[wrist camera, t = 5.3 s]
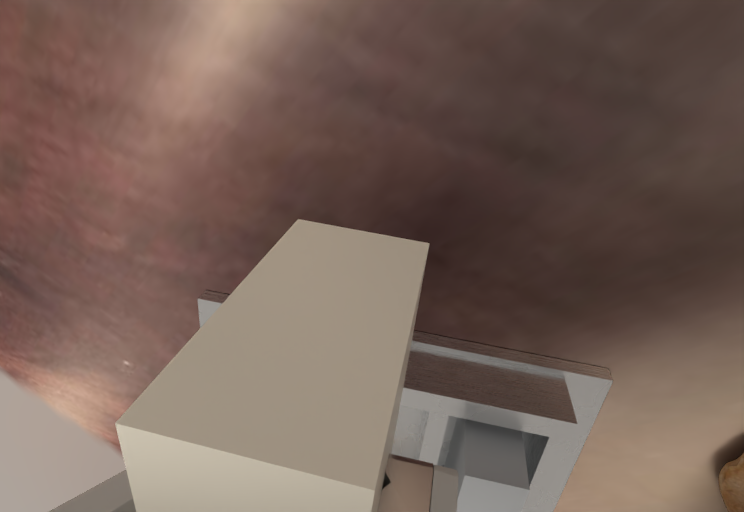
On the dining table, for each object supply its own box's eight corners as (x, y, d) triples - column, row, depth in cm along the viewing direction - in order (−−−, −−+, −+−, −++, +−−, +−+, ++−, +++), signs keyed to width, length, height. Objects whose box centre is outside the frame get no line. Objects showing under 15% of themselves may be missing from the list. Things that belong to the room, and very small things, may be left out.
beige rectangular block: (429, 243, 10) (374, 490, 5) (382, 499, 14) (327, 776, 9) (298, 219, 10) (115, 423, 5) (291, 475, 15) (187, 728, 9)
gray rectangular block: (517, 397, 26) (529, 490, 21) (483, 497, 31) (486, 595, 25) (465, 386, 27) (464, 475, 22) (438, 486, 31) (433, 581, 26)
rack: (608, 368, 26) (636, 436, 21) (537, 527, 32) (548, 602, 28) (206, 290, 28) (160, 336, 24) (218, 451, 35) (184, 509, 31)
